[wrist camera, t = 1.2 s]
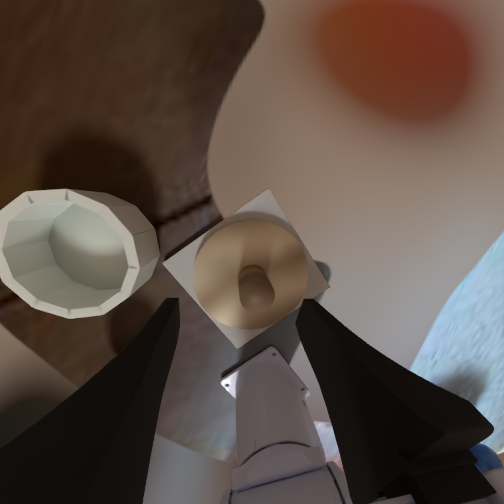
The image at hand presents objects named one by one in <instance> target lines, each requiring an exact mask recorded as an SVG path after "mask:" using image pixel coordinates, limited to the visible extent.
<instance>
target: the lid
mask: <svg viewBox="0 0 504 504" xmlns="http://www.w3.org/2000/svg"><path fill="white" fill-rule="evenodd" d="M307 281H308V264H307V259H306V256H305V253H304V251H303V249H302V247H301V246H300V244H299V243H298V241H297V240H296V239H295V238H294V237H293V236H292V235H291V234H290V233H289V232H287V231H286V230H285V229H283V228H281V227H279V226H277V225H275V224H273V223H270V222H266V221H262V220H242V221H237V222H234V223H231V224H229V225H226V226H224V227H223V228H221V229H219V230H218V231H216V232H215V233H214V234H213V235H212V236H211V237H210V238H209V239H208V240H207V241H206V242H205V244H204V245H203V247H202V248H201V250H200V252H199V253H198V255H197V258H196V261H195V264H194V269H193V285H194V289H195V293H196V296H197V298H198V300H199V302H200V304H201V305H202V307H203V308H204V309H205V311H206V312H207V313H208V314H209V315H210V316H212V317H213V318H214V319H216V320H217V321H219V322H220V323H222V324H225V325H227V326H230V327H233V328H238V329H249V330H250V329H259V328H264V327H267V326H270V325H272V324H275V323H277V322H279V321H280V320H282V319H283V318H285V317H286V316H287V315H289V314H290V313H291V312H292V311H293V310H294V309H295V307H296V306H297V305H298V303H299V302H300V300H301V299H302V297H303V295H304V292H305V289H306V286H307Z"/></svg>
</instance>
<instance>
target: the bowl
mask: <svg viewBox="0 0 504 504" xmlns="http://www.w3.org/2000/svg"><path fill="white" fill-rule="evenodd" d="M159 256H160V251H159V246H158V241H157V236H156V231H155V229H154V227H153V226H152V224H151V223H150V222H149V221H148V220H147V218H146V217H145V216H144V215H143V214H142V212H141V211H140V210H139V209H138V208H137V207H136V206H135V205H133V204H131V203H129V202H126V201H124V200H122V199H119V198H117V197H115V196H113V195H110V194H108V193H102V192H93V191H83V190H73V189H55V190H40V191H26V192H24V193H23V194H21V195H20V196H19V197H17V198H16V199H15V200H14V201H12V202H11V203H10V204H8V205H7V206H6V207H4V208H3V209H2V210H0V277H1V279H2V282H4V284H5V285H7V286H8V287H9V288H10V289H11V290H13V291H14V292H15V293H16V294H17V295H18V296H20V297H21V298H22V299H23V300H24V301H26V302H27V303H28V304H29V305H30V306H31V307H33V308H36V309H39V310H42V311H45V312H49V313H52V314H55V315H58V316H62V317H65V318H68V319H69V318H70V319H72V318H80V317H89V316H97V315H104V314H105V313H107V312H108V311H110V310H111V309H113V308H114V307H115V306H117V305H118V304H120V303H121V302H122V301H124V300H125V299H127V298H128V297H129V296H131V295H132V294H133V293H134V292H135V291H136V290H137V289H138V288H140V287H141V286H142V285H143V284H144V283H145V282H146V281H147V280H148V279H150V278H151V276H152V274H153V271H154V269H155V266H156V264H157V261H158V259H159Z"/></svg>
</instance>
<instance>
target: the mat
mask: <svg viewBox="0 0 504 504" xmlns="http://www.w3.org/2000/svg"><path fill="white" fill-rule="evenodd" d="M242 220H262V221H266V222H270V223H273V224H275V225H277V226H279V227H281V228H283V229H285V230H286V231H287V232H289V233H290V234H291V235H292V236H293V237H294V238H295V239H296V240H297V241H298V243H299V244H300V246H301V247H302V249H303V251H304V253H305V256H306V259H307V264H308V281H307V286H306V289H305V292H304V295H303V297H302V299H301V300H300V302H299V303H298V305H297V306H296V307H295V309H294V310H293V311H295V310H296V309H298V308H299V307H301V305H302V302H303V299H313V298H314V297H316V296H317V295H319V294H320V293H322V292H323V291H325V290H326V289H328V288H329V287H330V286H329V284H328V283H327V281H326V279H325V278H324V276H323V275H322V273H321V271H320V270H319V268H318V267H317V265H316V263H315V262H314V260H313V259H312V257H311V255H310V254H309V252H308V250H307V249H306V247H305V246H304V244H303V242H302V241H301V239H300V238H299V236H298V234H297V233H296V231H295V229H294V228H293V226H292V225H291V223H290V221H289V220H288V218H287V217H286V215H285V213H284V212H283V210H282V208H281V207H280V205H279V204H278V202H277V200H276V199H275V197H274V196H273V194H272V192H271V191H270V189H269V188H268V189H266V190H265V191H263V192H262V193H261V194H259V195H258V196H256V197H255V198H254V199H252V200H251V201H249V202H248V203H247V204H245V205H244V206H242V207H241V208H239V209H238V210H237V211H235V212H234V213H233V214H231V215H230V216H228V217H227V218H225V219H224V220H223V221H221V222H220V223H218V224H217V225H216V226H214V227H213V228H211V229H210V230H208V231H207V232H206V233H204V234H203V235H201V236H200V237H199V238H197V239H196V240H194V241H193V242H192V243H190V244H189V245H187V246H186V247H185V248H183V249H182V250H180V251H179V252H177V253H176V254H175V255H173V256H172V257H170V258H169V259H168V260H166V261H165V262H164V263H162V264H163V265H164V266H165V267H166V268H167V269H168V270H169V272H170V273H171V274H172V275H173V276H174V277H175V278H176V280H177V281H178V282H179V283H180V284H181V285H182V286H183V288H184V289H185V290H186V291H187V292H188V293H189V294H190V295H191V297H192V298H193V299H194V300H195V301H196V302H197V303H198V305H199V306H200V307H201V308H202V309H203V310H204V311H205V309H204V308H203V307H202V305H201V304H200V302H199V300H198V298H197V296H196V293H195V289H194V285H193V269H194V264H195V261H196V258H197V255H198V253H199V252H200V250H201V248H202V247H203V245H204V244H205V242H206V241H207V240H208V239H209V238H210V237H211V236H212V235H213V234H214V233H215V232H216V231H218V230H219V229H221V228H223V227H224V226H226V225H229V224H231V223H234V222H237V221H242ZM293 311H292V312H293ZM292 312H291V313H292ZM205 313H206V314H207V315H208V316H209V317H210V318H211V319H212V321H213V322H214V323H215V324H216V325H217V326H218V327H219V329H220V330H221V331H222V332H223V333H224V334H225V335H226V337H227V338H228V339H229V340H230V341H231V342H232V343H233V345H234V346H235V347H236V348H237V349H238V348H239V347H241V346H242V345H244V344H245V343H247V342H248V341H250V340H251V339H253V338H254V337H256V336H257V335H259V334H260V333H262V332H263V331H265V330H266V329H268V328H269V327H271V326H272V325H274V324H272V325H270V326H267V327H264V328H259V329H250V330H249V329H238V328H233V327H230V326H227V325H225V324H222V323H220V322H219V321H217V320H216V319H214V318H213V317H212V316H210V315H209V314H208V313H207V312H206V311H205Z"/></svg>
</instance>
